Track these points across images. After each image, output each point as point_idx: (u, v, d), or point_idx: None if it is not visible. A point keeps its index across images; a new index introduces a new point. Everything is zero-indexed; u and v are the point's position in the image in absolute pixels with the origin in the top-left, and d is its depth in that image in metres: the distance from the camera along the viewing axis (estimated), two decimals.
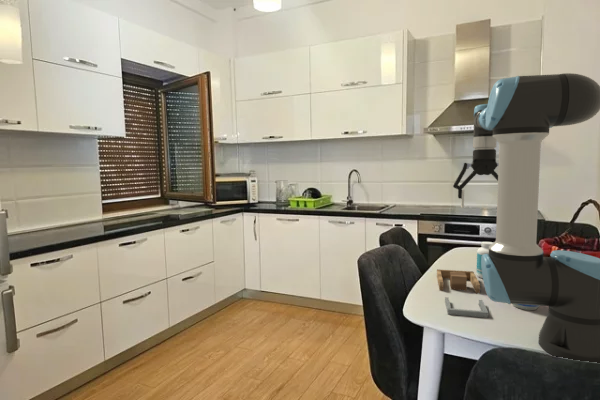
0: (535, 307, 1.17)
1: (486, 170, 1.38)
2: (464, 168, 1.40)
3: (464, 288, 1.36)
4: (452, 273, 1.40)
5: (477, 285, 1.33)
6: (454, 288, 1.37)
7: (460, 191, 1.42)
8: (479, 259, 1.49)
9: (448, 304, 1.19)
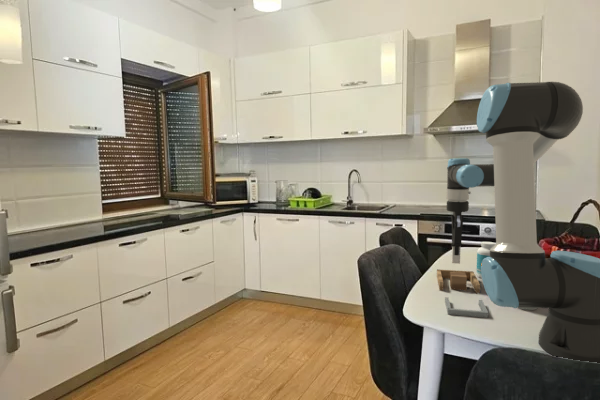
0: None
1: None
2: None
3: (464, 288, 1.36)
4: (452, 273, 1.40)
5: (477, 285, 1.33)
6: (454, 288, 1.37)
7: (453, 246, 1.46)
8: (479, 259, 1.49)
9: (448, 304, 1.19)
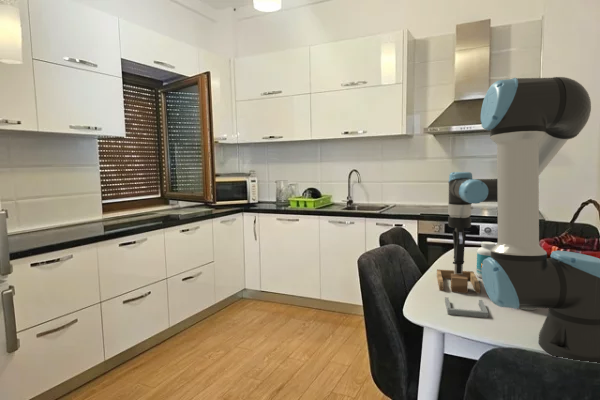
0: None
1: None
2: None
3: (465, 290, 1.33)
4: (453, 275, 1.37)
5: (477, 285, 1.33)
6: (455, 290, 1.34)
7: (455, 263, 1.40)
8: (479, 259, 1.49)
9: (448, 304, 1.19)
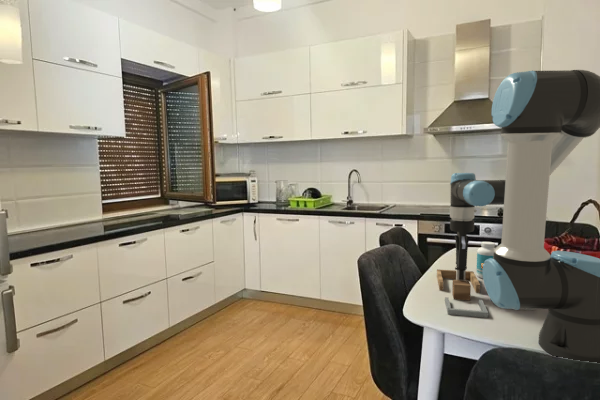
0: None
1: None
2: None
3: (468, 298, 1.26)
4: (455, 281, 1.30)
5: (477, 285, 1.33)
6: (457, 298, 1.27)
7: None
8: (479, 259, 1.49)
9: (448, 304, 1.19)
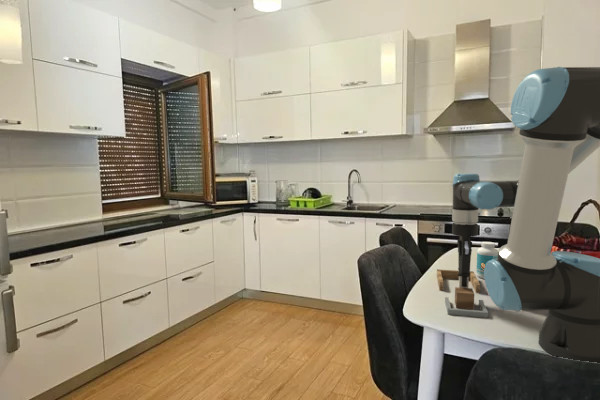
0: None
1: None
2: None
3: (471, 306, 1.19)
4: (457, 289, 1.23)
5: (477, 285, 1.33)
6: (460, 306, 1.20)
7: None
8: (479, 259, 1.49)
9: (448, 304, 1.19)
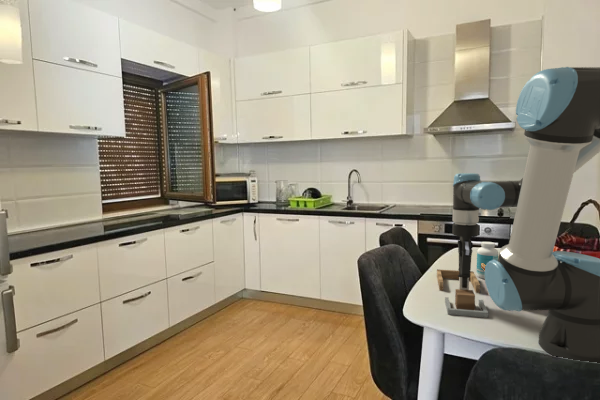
0: None
1: None
2: None
3: (472, 309, 1.18)
4: (458, 291, 1.21)
5: (477, 285, 1.33)
6: (460, 308, 1.19)
7: None
8: (479, 259, 1.48)
9: (448, 304, 1.19)
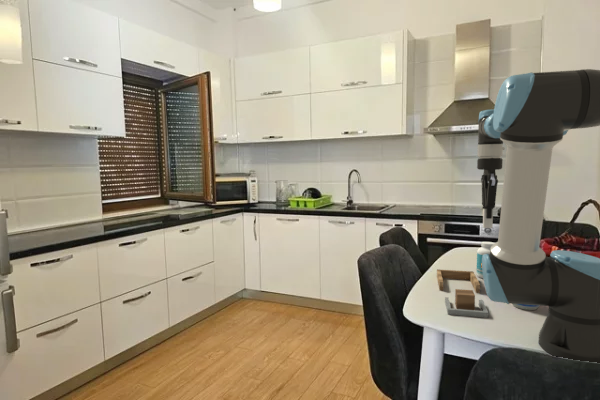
0: (535, 307, 1.17)
1: None
2: None
3: (472, 308, 1.18)
4: (458, 291, 1.21)
5: (477, 285, 1.33)
6: (460, 308, 1.19)
7: None
8: (479, 259, 1.49)
9: (448, 304, 1.19)
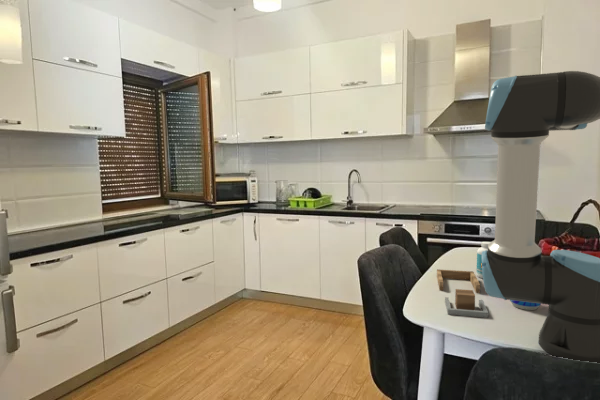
0: (535, 307, 1.17)
1: None
2: None
3: (472, 309, 1.18)
4: (458, 291, 1.21)
5: (477, 285, 1.33)
6: (460, 308, 1.19)
7: None
8: (479, 259, 1.49)
9: (448, 304, 1.19)
